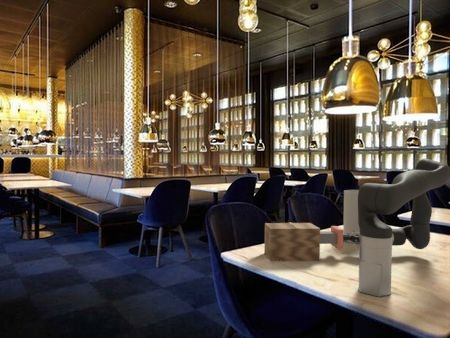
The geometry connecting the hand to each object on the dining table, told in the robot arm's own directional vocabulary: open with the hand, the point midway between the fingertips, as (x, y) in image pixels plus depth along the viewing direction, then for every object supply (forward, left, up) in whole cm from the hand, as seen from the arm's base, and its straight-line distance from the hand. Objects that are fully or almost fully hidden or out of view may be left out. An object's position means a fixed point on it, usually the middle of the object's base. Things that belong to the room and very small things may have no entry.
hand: (339, 237), depth 145 cm
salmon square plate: (-7, +7, -4) cm, 11 cm away
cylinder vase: (+33, +4, -8) cm, 34 cm away
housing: (-14, +14, -8) cm, 22 cm away
